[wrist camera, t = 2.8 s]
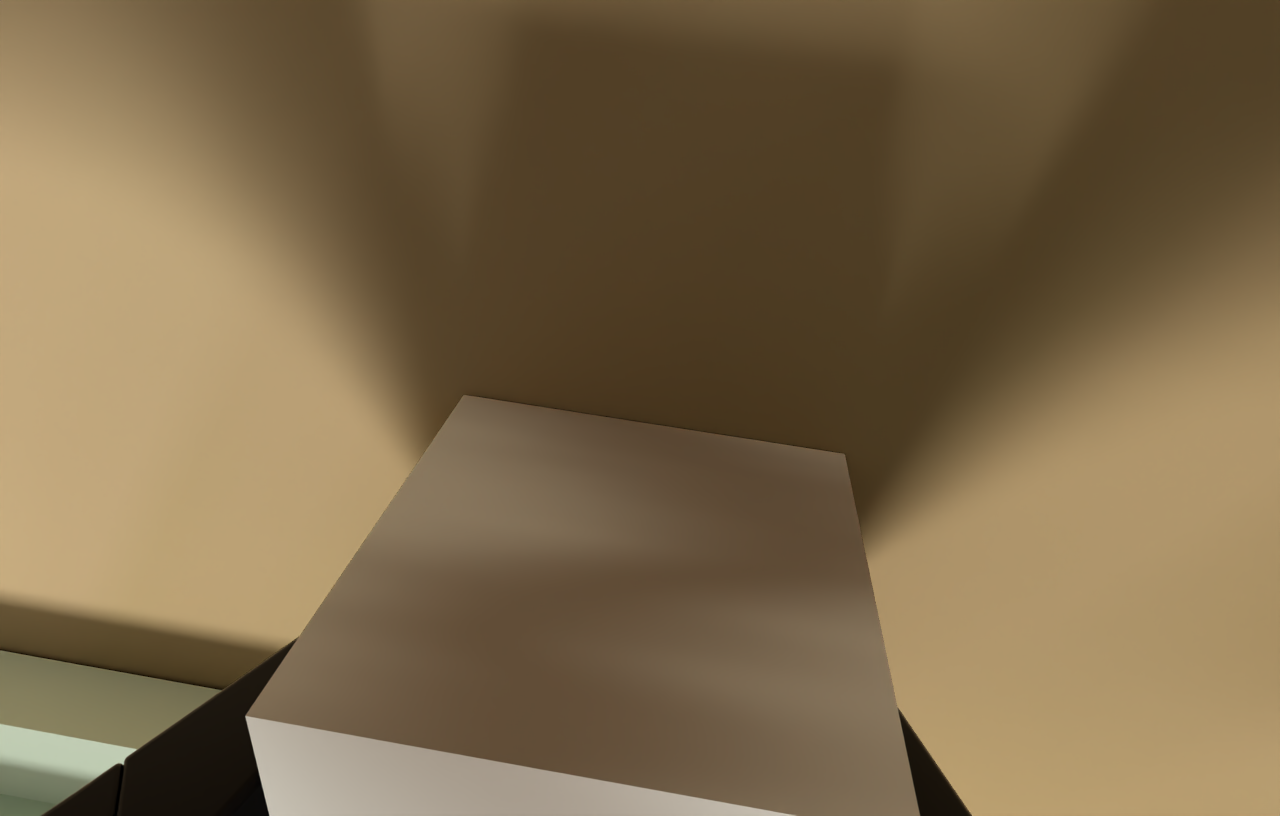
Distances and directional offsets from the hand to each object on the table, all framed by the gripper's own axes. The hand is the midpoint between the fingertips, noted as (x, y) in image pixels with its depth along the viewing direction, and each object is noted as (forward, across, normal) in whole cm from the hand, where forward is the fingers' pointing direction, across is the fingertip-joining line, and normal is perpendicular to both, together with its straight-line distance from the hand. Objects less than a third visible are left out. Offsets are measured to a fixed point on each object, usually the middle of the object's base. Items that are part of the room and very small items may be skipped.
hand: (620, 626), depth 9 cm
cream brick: (+1, 0, 0) cm, 1 cm away
